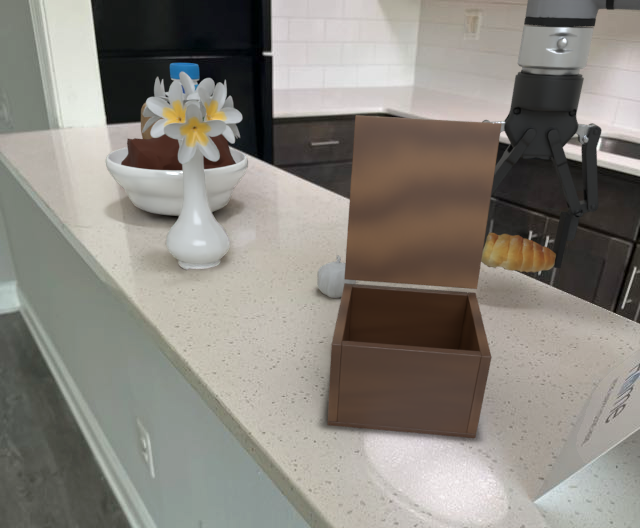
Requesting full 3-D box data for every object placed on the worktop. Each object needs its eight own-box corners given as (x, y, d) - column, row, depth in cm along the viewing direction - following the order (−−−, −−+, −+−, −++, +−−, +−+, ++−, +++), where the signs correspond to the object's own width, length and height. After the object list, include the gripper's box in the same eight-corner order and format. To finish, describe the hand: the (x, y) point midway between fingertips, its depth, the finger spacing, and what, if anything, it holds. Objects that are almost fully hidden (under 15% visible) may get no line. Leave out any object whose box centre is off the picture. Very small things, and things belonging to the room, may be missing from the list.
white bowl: (103, 197, 127) (91, 112, 119) (227, 190, 136) (224, 110, 128) (124, 235, 108) (111, 137, 100) (267, 223, 117) (266, 132, 109)
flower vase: (174, 293, 88) (155, 85, 75) (146, 250, 102) (126, 69, 88) (265, 282, 93) (263, 84, 79) (227, 242, 107) (219, 69, 93)
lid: (501, 123, 61) (500, 123, 62) (355, 115, 62) (355, 115, 63) (477, 289, 68) (476, 287, 68) (344, 279, 69) (344, 278, 69)
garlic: (328, 284, 93) (329, 248, 90) (362, 292, 91) (365, 255, 88) (308, 298, 88) (309, 260, 86) (343, 306, 86) (346, 268, 84)
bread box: (474, 442, 61) (491, 356, 56) (327, 429, 62) (331, 344, 57) (462, 367, 73) (476, 292, 68) (339, 358, 74) (344, 282, 69)
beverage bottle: (207, 158, 161) (202, 66, 150) (172, 158, 160) (164, 65, 149) (207, 151, 168) (202, 62, 157) (173, 151, 167) (166, 61, 156)
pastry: (554, 261, 88) (560, 233, 86) (552, 278, 82) (558, 249, 80) (483, 253, 90) (487, 226, 88) (476, 269, 85) (481, 240, 83)
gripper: (453, 70, 72) (431, 267, 84) (662, 76, 70) (609, 276, 82) (449, 65, 78) (429, 249, 91) (641, 70, 77) (594, 257, 89)
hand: (515, 262), depth 86 cm, fingers closed on pastry, 10 cm apart
